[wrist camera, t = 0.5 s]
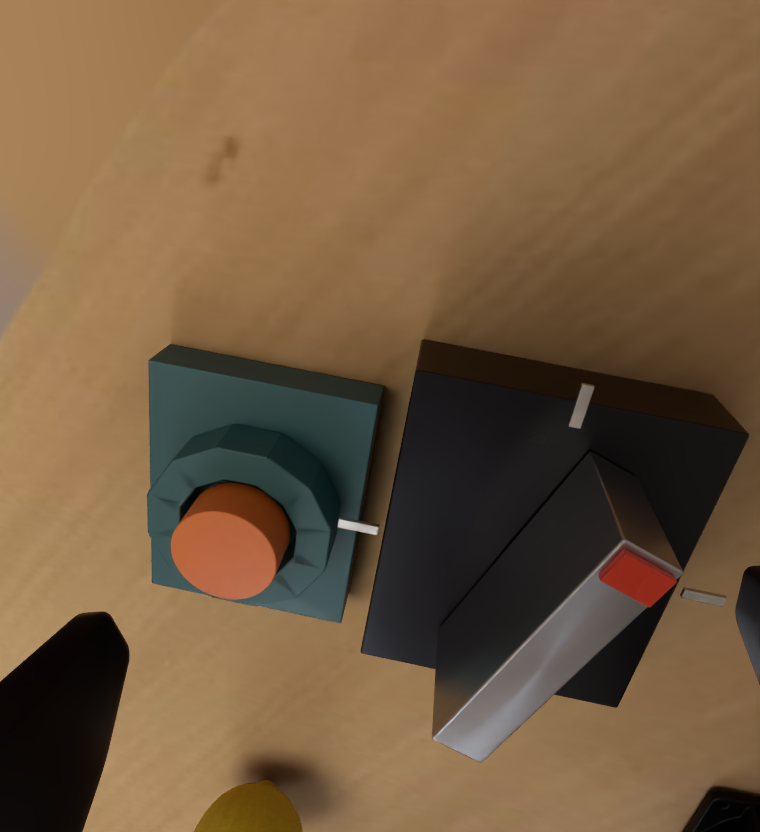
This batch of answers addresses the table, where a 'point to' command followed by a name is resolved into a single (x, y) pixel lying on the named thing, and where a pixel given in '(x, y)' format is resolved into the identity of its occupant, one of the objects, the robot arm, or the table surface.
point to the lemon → (251, 811)
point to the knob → (549, 606)
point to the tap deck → (531, 488)
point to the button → (231, 541)
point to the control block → (263, 463)
